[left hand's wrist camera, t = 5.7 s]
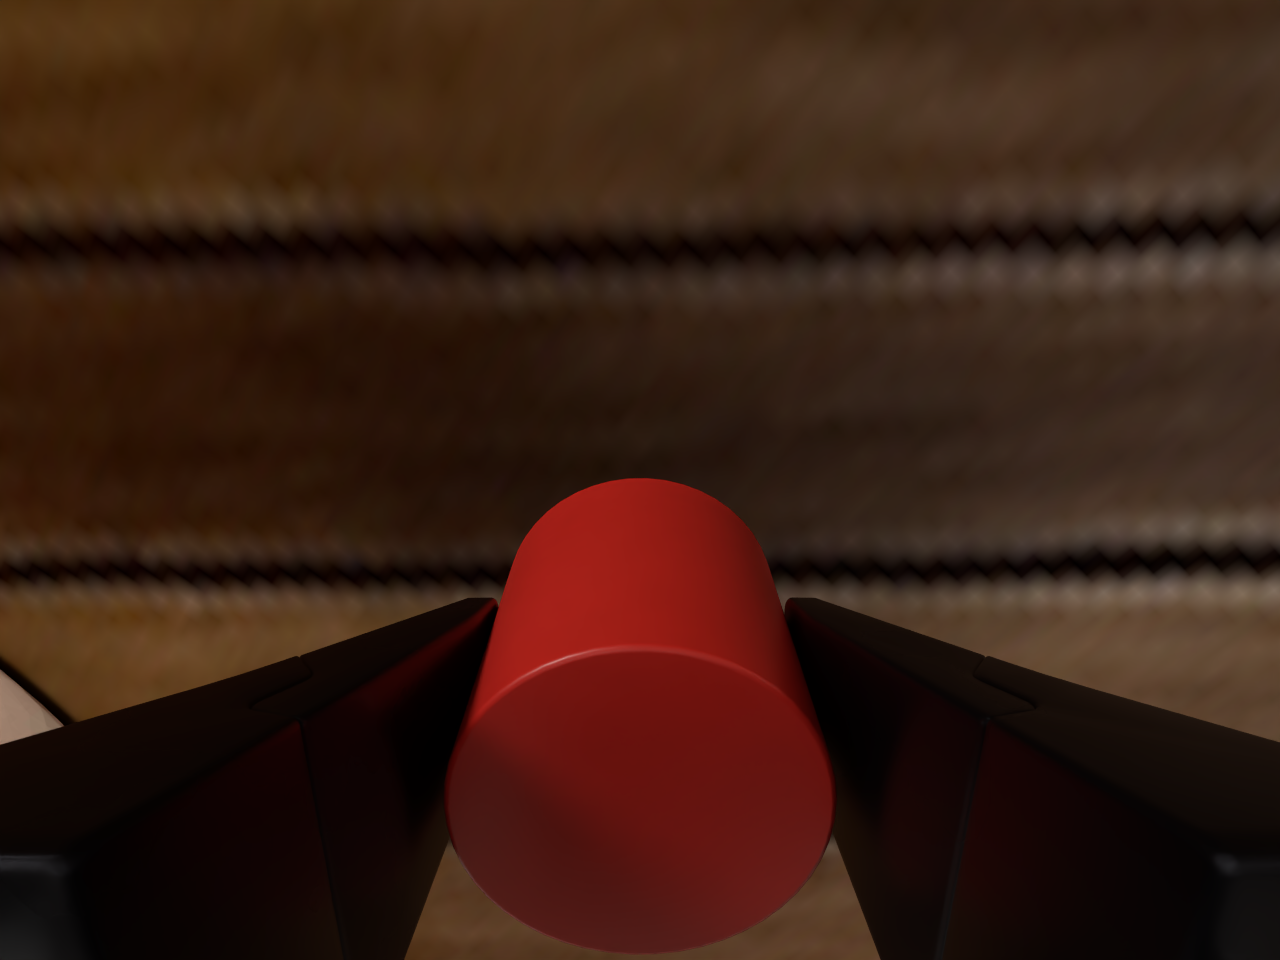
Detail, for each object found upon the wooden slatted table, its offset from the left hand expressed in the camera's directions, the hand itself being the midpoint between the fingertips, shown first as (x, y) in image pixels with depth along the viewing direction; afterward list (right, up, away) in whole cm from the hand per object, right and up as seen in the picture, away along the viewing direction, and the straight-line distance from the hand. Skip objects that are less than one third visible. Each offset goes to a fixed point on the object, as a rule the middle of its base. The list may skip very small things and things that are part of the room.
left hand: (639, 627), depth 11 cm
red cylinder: (0, 0, +1) cm, 1 cm away
